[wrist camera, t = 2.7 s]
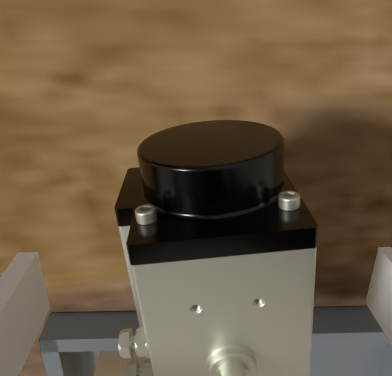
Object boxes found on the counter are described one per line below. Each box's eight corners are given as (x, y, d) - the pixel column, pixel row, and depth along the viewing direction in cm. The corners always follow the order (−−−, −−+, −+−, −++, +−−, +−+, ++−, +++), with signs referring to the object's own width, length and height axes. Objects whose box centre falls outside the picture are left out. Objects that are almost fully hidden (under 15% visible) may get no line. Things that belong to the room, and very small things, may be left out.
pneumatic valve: (247, 85, 18) (341, 194, 7) (253, 277, 23) (315, 511, 12) (134, 96, 18) (62, 220, 7) (164, 286, 23) (148, 526, 12)
